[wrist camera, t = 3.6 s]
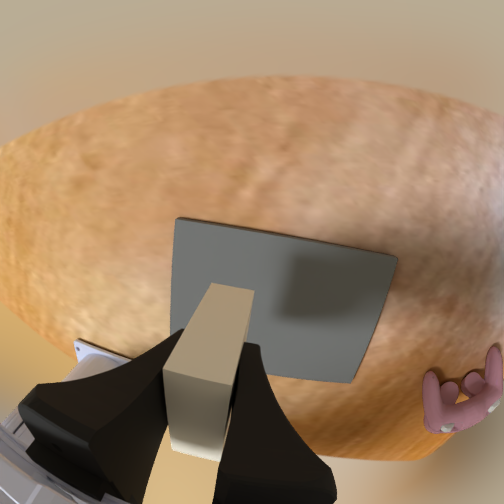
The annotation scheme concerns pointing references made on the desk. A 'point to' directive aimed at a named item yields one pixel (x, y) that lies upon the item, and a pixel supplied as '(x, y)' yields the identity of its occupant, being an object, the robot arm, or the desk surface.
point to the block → (206, 371)
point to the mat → (286, 294)
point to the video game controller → (467, 412)
